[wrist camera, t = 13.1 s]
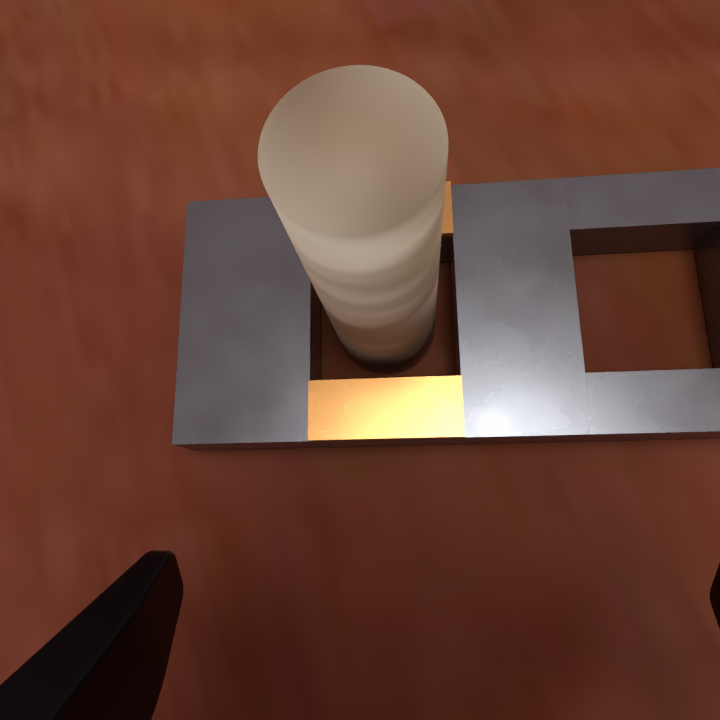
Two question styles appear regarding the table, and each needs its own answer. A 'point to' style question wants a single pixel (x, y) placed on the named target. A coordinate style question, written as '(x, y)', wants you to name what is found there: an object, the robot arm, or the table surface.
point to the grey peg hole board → (470, 321)
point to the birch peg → (363, 204)
